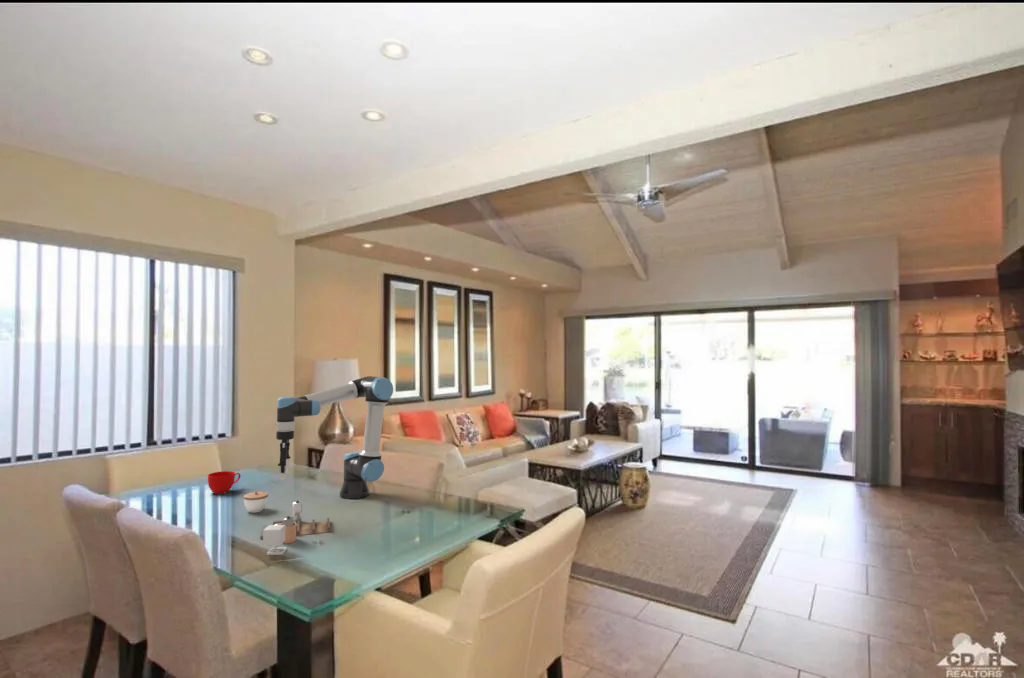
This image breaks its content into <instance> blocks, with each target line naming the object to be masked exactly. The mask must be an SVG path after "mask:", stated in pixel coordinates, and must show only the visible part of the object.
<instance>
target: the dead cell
mask: <svg viewBox="0 0 1024 678" xmlns="http://www.w3.org/2000/svg"><path fill="white" fill-rule="evenodd" d="M282 520H283V525H285V526H286V527H287V526H292V525H293V517H292V516H289V515H288V516H285V517H283V518H282Z"/></svg>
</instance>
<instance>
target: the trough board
mask: <svg viewBox="0 0 1024 678" xmlns="http://www.w3.org/2000/svg"><path fill="white" fill-rule="evenodd" d="M315 521H316V520H315V519H312V522H308V523H301V524H300V521H298V523H297V524H296V537H298V536H300V537H301V536H306V535H307V536H308V535H317V534H325V533H326V534H327V533H331V523H330V518H329V517H327V518H326V521H318V522H315Z"/></svg>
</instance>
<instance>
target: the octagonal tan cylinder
mask: <svg viewBox="0 0 1024 678" xmlns="http://www.w3.org/2000/svg"><path fill="white" fill-rule="evenodd" d="M280 525H283V523H281V524H280ZM296 541H297V524H296V522H293V525H292V526H287V527H286V528H285V541H284V542H283V543H282V544H290V543H294V542H296Z"/></svg>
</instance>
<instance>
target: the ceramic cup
mask: <svg viewBox="0 0 1024 678" xmlns="http://www.w3.org/2000/svg"><path fill="white" fill-rule="evenodd" d="M237 475H238V477H237V478H236V480H235V477H236V476H237ZM240 479H241V474H240V473H239V472H235V471H233V470H231V471H228V470H227V471H226V470H224V471H216V472H211V473H209V474H207V483H208V484H207V485H208V488H209V489H210V491H211V492H212V493H213V494H215V495H222V494H227V493H228V492H229V491H230V490H231V489H232V487H233V485H234V484H235V483H238V481H239V480H240Z"/></svg>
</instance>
